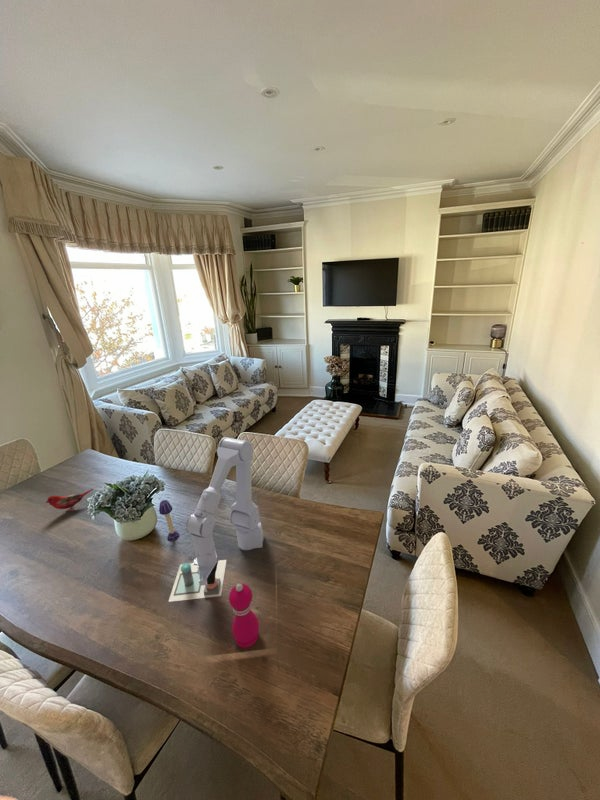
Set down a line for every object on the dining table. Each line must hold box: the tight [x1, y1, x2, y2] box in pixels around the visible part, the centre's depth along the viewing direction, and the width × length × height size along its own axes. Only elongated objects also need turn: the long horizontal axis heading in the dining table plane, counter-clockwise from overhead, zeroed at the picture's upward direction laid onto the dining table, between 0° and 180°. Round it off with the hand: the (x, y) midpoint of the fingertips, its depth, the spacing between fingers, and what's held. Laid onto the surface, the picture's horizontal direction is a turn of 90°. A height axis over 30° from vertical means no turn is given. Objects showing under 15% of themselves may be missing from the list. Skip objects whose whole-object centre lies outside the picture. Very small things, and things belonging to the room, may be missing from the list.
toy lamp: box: [158, 499, 180, 541], centre depth 124 cm, size 5×5×17 cm
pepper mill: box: [228, 583, 260, 648], centre depth 86 cm, size 7×7×20 cm
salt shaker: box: [181, 562, 194, 587], centre depth 105 cm, size 3×3×7 cm
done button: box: [206, 578, 218, 590], centre depth 103 cm, size 4×4×3 cm
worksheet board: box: [168, 559, 227, 603], centre depth 107 cm, size 16×14×2 cm
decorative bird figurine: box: [45, 488, 94, 513], centre depth 145 cm, size 3×18×10 cm, turn 131°
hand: (211, 582), depth 103 cm, fingers closed, pressing on done button
